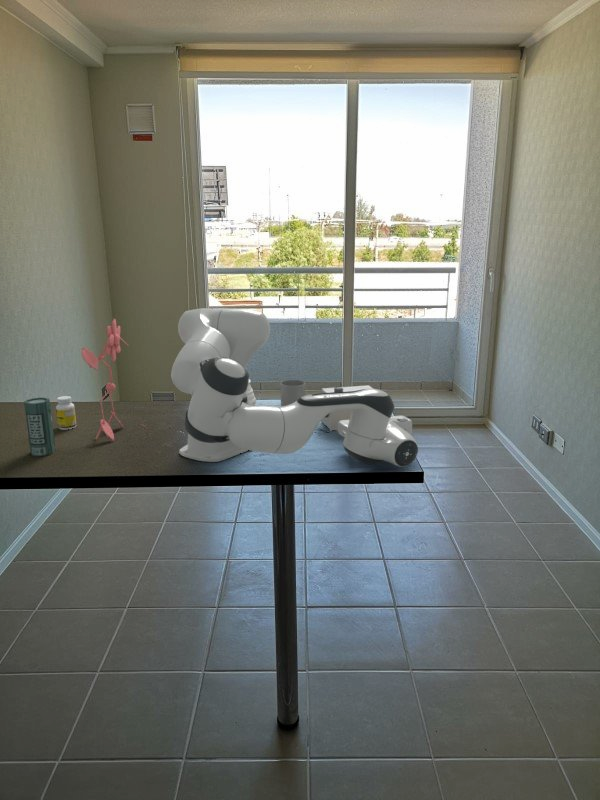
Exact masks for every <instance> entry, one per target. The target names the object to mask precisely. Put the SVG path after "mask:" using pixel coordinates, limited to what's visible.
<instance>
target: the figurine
mask: <svg viewBox="0 0 600 800" xmlns="http://www.w3.org/2000/svg"><path fill="white" fill-rule="evenodd" d="M106 335H107V340H106V343H105V345H104V347H103V349H102V350H101V353H100V354H99V355H98V356H96V355H95V353H94V352H92V351H91V350H90V349H88V348H85V347H82V348H81V357H82V358H83V361H84V362H85V363H86V364H87V365H88V366H89V368H90V369H92V368H93V370H95V371H97V370H98V367H99V360H100V361H101V362H102V363H103V364H104V365H105V366H106V367H108V370H109V378H110V382H108V383H107V384H106V385H105V391H107V392H106V393H105V394H104V395H103V397H101V399H100V400H99V403H100V408H101V415H102V419H100V421H99V424H100V427H99V430H98V431H97V434H96V436H95V438H94V439H95V440H98V438H99V436H100V434H101V432H104V434H105V435H106V436H107V437H108V438H109V439H110V440H111V441H112V442H113V441H115V434H114V432H113V429H112V427H111V425H110V423H111V421H112V420H113V417H114V418H115V419H116V420H117V421H118V423H119V424H120V425H121V427H122V428H125V425H123V423H121V421H120V420H119V418H118V417H117V416H116V413H115V408H114V404H113V399H112V392H114V391H115V390H116V385H115V384H114V383H113V372H112V369H113V368H112V367H111V365H109V364H108V363H107V362H106V361H105V360H103V358H105V357H109V356H110V359H111V362H112V363H115V361H116V360H117V355H119V354H120V353H121V351H122V349H121V345H120V341H122V342H123V343H124V344H125V345H126V346H127V347H129V346H130V345H129V344H128V343H127V342H126V341H125V340H124V339H123V338H122V337H121V326H120V325H118V326H117V319H116V318H113V320H112V321H111V325H108V326H106ZM103 354H104V355H103ZM108 394H109V398H110V402H111V408H112V410H111V411H110V413H111V415H110V418H109V419H108V422H107V421H106V420H105V415H104V409H103V400H104V398H105V397H106V396H107V395H108ZM140 425H141V426H143V427H145V428H146V429H147V430H149V427H147V426H145V425H144V424H141V423H140ZM147 435H148V433H146V434H144V436H142V437H140V438H139V439H138V440H140V439H143V438H144V437H146V436H147ZM85 446H87V444H85ZM89 446H92V445H91V444H89Z"/></svg>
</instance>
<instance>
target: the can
mask: <svg viewBox="0 0 600 800" xmlns="http://www.w3.org/2000/svg"><path fill="white" fill-rule="evenodd" d="M23 403H24V404H23V405H24V410H25V411H24V412H25V418H26V419H25V420H26V426H27V434H28V435H27V436H28V442H29V449H30V455H31V456H34V457H46V456H49V455H50V456H51V454H52V455H53V454H54V453H55V452H56V443H55V434H54V427H53V425H54V424H53V419H52V409H51V408H52V407H51V401H50V398H48V397H33V398H29V399H26V400H24V401H23Z"/></svg>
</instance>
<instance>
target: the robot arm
mask: <svg viewBox="0 0 600 800" xmlns="http://www.w3.org/2000/svg"><path fill="white" fill-rule="evenodd" d="M177 330H178V331H177V332H178V336H179V337H180V340H181V341H182V342H183V343H184V345H183V347H181V349H180V350H179V352H178V354H177V355H176V358H175V360H174V361H173V364H172V368H171V372H170V375H171V376H170V377H171V380H172V383H173V385H174V387H176V389H178V391H180V392H182V393H185V394H188V395H192V396H191V398H190V402H189V404H188V409H187V410H186V413H185V416H184V428H185V431H186V432H187V444H186V445H183V447H181V448H180V449H179V451H178V453H179V454H180V456H183V457H184V458H188V459H191V460H194V461H199V462H207V463H218V462H221V461H224V460H225V461H226V460H227V459H229V458H232V457H233V458H234V456H237V455H241V454H243V453H246V452H248V450H249V451H252V452H257V453H258V452H259V453H263V454H272V455H273V454H274V455H276V454H277V455H288V454H293V453H296V452H298V451H299V450H301V449H302V448H303V447H304V446H305V445H306V444H307V443H308V442H309V440H310V439H311V437H312V436H313V434H314V432H315V431H316V429H317V427H319V425H320V423H322V419H323V418H324V417H325V416H326V415H328V414H329V413H331V412H336V411H349V410H352V413H351V417H350V420H341V421H339V422H338V430H337V433H338V434H339V436H342V437H343V443H342V446H343V449H344V451H345V452H346V454H348V456H349V457H350V458H352V459H353V460H355V461H356V462H358V463H363V464H367V465H376V464H380V463H384V462H388V463H390V464H392V465H393V466H394V465H395V466H396V467H402V468H404V467H405V468H406V467H408V466H410V465H411V464H412V463H413V462H414V461H415V460H416V458H417V457H418V453H419V446H418V443H417V441H416V439H415V438H414V437H413V436H412V435H413V421H412V419H410V418H409V417H407V416H405V415H393V412H394V409H395V405H394V402H393V399H392V397H391V396H390V394H389V393H388V392H386V391H383V390H381V389H377V388H373V389H362V390H357V391H349V392H332V393H322V392H320V393H319V392H318V393H312V394H311V393H310V394H305V395H304V396H301V397H300V398H299V399H298V400H297V401H296V402H294V403H292V404H290V405H287V406H282V407H281V406H276V405H275V406H274V405H262V404H261V405H260V404H259V405H257V404H256V406H250V405H248V400H247V395H246V390H247V386H248V382H249V379H250V375H249V372H248V365H249V363H250V361H251V358H252V357H253V356H254V355H255V353H256V352H258V351H259V350H260V349H261V348H263V347H264V346H265V345H266V343H267V342H268V340H269V337H270V334H271V325H270V322H269V319H268V318H267V316H266V315H265V314H264V313H263V312H261V311H257V310H253V309H248V308H246V309H245V308H240V309H239V308H208V307H207V308H205V307H203V308H195V309H190V310H185V311H184V312H183V313H182V315H181V316H180V318H179V321H178V323H177ZM392 415H393V416H392ZM240 453H241V454H240Z"/></svg>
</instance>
